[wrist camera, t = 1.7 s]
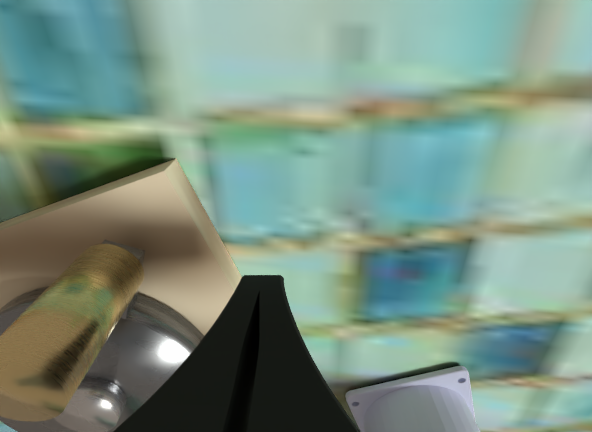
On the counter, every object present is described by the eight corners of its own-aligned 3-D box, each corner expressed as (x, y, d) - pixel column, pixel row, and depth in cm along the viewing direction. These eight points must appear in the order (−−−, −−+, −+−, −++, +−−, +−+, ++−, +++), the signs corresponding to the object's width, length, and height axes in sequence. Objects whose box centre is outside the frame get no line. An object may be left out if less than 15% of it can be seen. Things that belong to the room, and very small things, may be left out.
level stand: (307, 396, 22) (309, 423, 20) (96, 445, 24) (83, 472, 23) (176, 158, 14) (161, 173, 12) (-123, 267, 16) (-166, 291, 15)
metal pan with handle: (191, 454, 22) (156, 600, 16) (-3, 422, 20) (-123, 578, 14) (270, 264, 14) (259, 413, 9) (-31, 177, 12) (-318, 299, 6)
